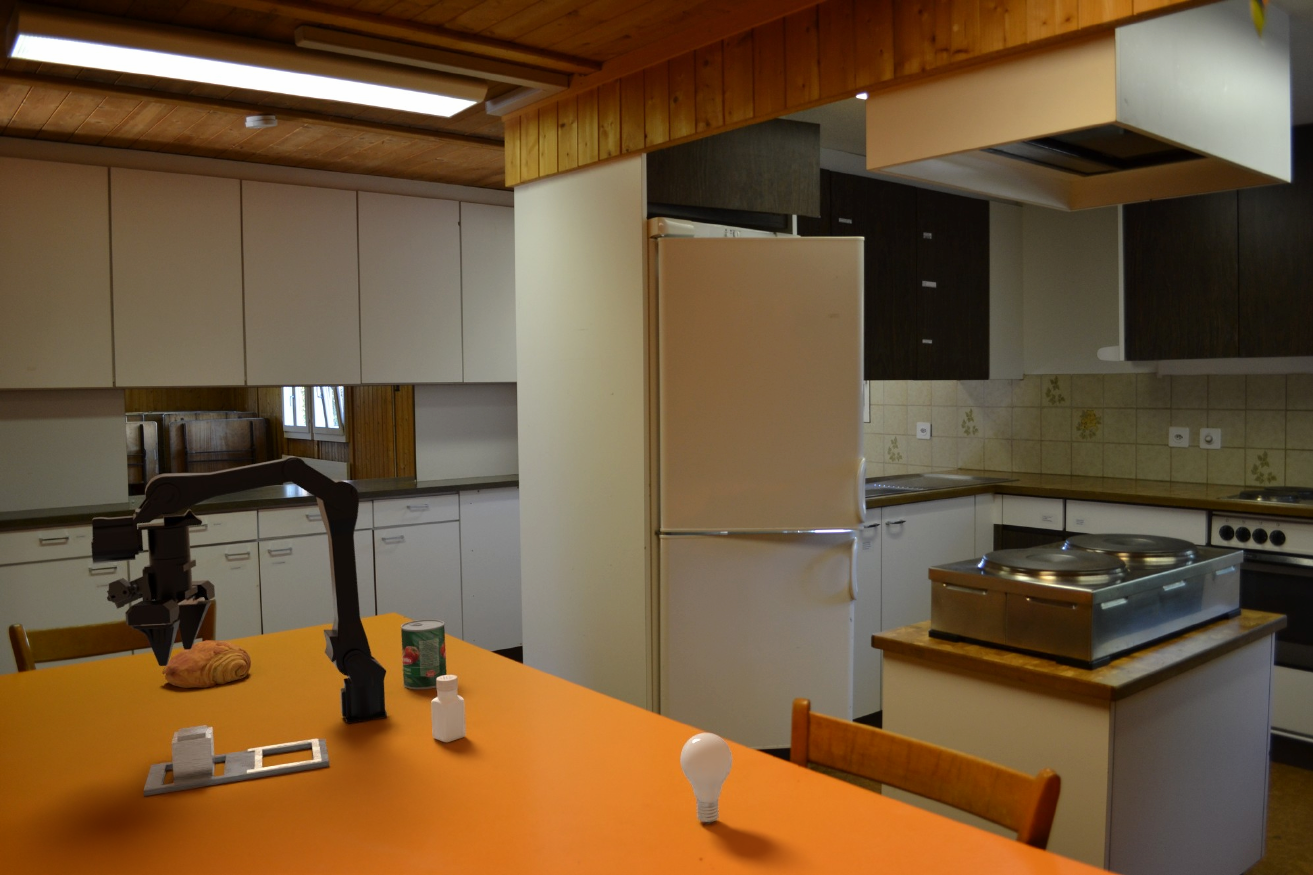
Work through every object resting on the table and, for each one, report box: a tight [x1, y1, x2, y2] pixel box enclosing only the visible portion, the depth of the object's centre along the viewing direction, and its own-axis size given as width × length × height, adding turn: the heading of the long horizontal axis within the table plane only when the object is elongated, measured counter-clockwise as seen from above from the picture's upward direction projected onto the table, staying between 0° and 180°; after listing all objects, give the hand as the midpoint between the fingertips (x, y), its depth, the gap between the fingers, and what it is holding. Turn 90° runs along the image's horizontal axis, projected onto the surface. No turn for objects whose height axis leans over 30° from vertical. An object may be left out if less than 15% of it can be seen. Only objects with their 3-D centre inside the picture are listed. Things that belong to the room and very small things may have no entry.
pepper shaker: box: [430, 674, 467, 743], centre depth 153 cm, size 4×4×10 cm
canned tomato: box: [400, 619, 448, 690], centre depth 182 cm, size 8×8×11 cm
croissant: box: [161, 639, 252, 689], centre depth 190 cm, size 14×16×8 cm
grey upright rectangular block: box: [171, 724, 216, 783], centre depth 141 cm, size 5×5×7 cm
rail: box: [143, 738, 330, 797], centre depth 143 cm, size 24×10×1 cm, turn 112°
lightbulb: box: [679, 732, 733, 824], centre depth 121 cm, size 6×6×11 cm
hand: (176, 657), depth 151 cm, fingers open, 9 cm apart
